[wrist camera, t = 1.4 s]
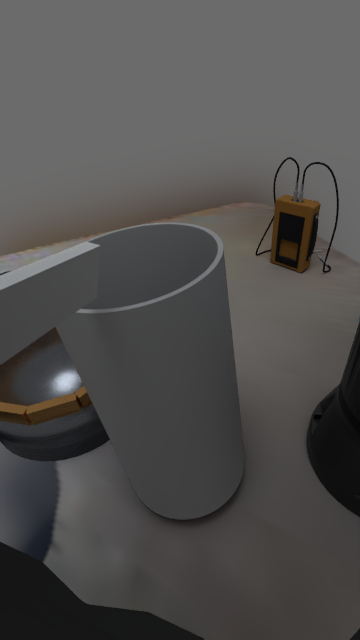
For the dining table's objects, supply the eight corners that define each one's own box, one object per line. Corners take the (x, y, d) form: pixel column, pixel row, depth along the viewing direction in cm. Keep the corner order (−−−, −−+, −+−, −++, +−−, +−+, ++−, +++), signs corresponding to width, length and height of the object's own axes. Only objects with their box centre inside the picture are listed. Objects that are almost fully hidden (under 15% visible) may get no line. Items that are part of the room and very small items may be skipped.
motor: (148, 321, 58) (139, 276, 52) (185, 421, 42) (178, 373, 37) (1, 359, 54) (-25, 315, 48) (-17, 486, 38) (-61, 443, 32)
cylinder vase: (110, 495, 36) (-4, 299, 21) (164, 405, 45) (109, 221, 30) (221, 545, 30) (170, 328, 16) (258, 432, 39) (247, 223, 25)
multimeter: (344, 258, 68) (371, 149, 55) (320, 280, 63) (343, 166, 50) (280, 239, 76) (290, 141, 64) (253, 257, 71) (259, 155, 59)
